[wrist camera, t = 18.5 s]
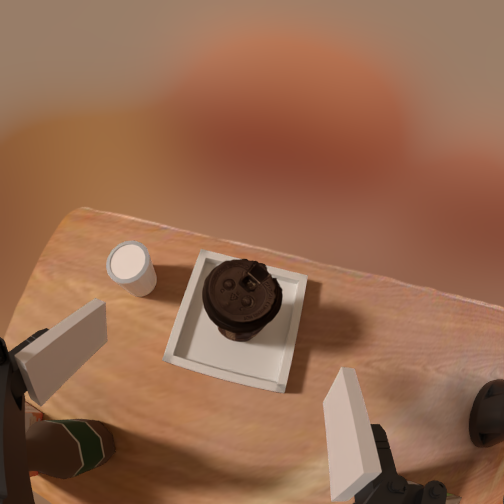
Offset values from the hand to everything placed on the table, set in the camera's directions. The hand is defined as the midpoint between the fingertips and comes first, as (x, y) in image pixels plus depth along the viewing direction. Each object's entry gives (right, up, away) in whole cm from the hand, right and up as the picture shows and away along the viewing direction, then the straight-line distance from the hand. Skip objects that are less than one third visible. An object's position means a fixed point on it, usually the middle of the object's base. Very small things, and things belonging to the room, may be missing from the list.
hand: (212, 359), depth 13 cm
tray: (0, -5, +27) cm, 27 cm away
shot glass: (-16, +1, +29) cm, 33 cm away
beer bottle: (-22, -23, +15) cm, 35 cm away
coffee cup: (0, -5, +26) cm, 26 cm away
